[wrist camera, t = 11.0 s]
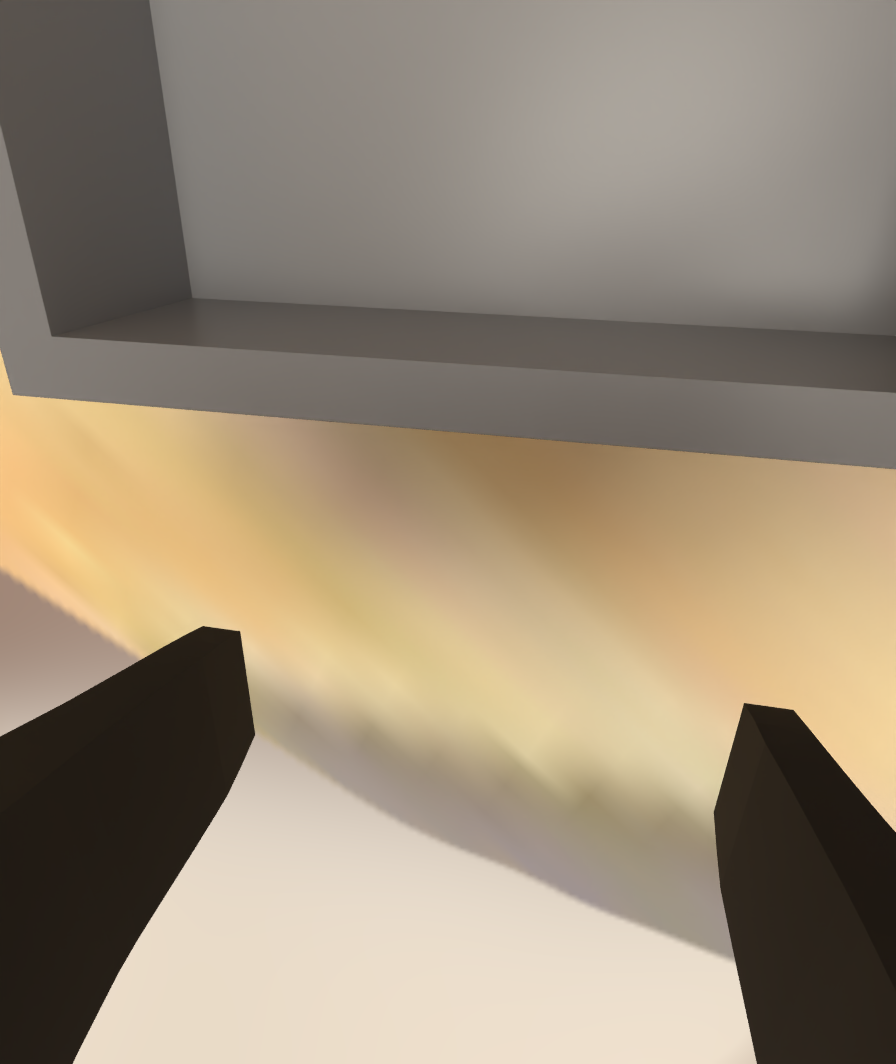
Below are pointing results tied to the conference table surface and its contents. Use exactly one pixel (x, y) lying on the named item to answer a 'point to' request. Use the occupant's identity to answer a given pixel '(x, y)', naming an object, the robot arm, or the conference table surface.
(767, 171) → the open box
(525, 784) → the conference table surface
